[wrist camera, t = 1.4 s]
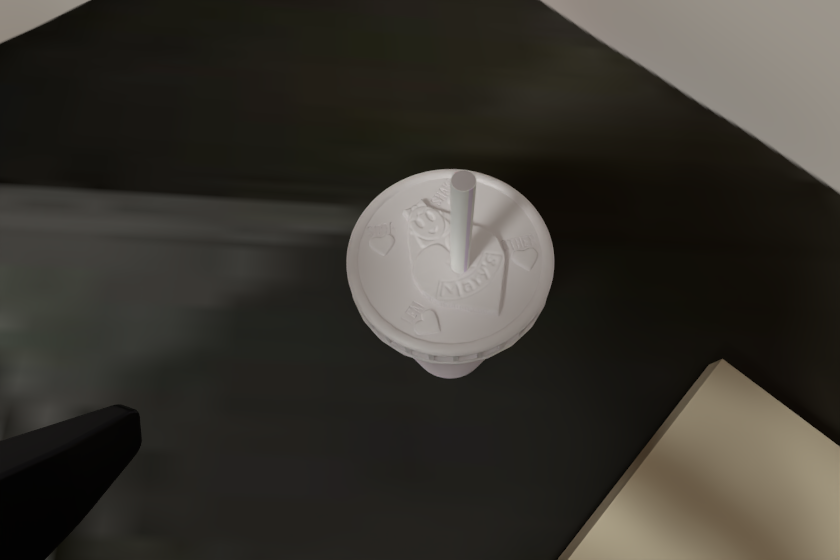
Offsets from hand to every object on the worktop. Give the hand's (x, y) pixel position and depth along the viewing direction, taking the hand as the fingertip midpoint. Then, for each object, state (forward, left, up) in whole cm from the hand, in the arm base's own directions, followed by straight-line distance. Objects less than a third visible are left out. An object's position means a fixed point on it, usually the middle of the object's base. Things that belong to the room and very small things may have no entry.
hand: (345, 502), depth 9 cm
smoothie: (+6, +3, -13) cm, 15 cm away
